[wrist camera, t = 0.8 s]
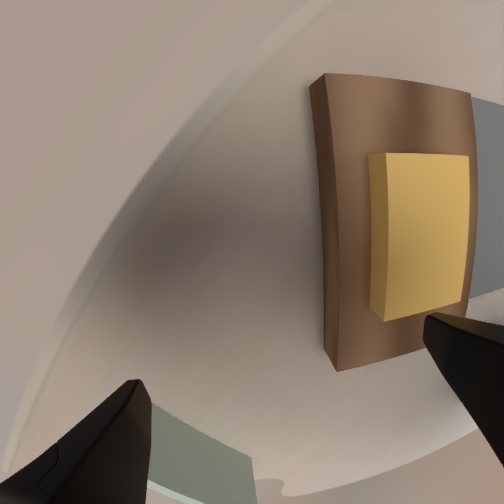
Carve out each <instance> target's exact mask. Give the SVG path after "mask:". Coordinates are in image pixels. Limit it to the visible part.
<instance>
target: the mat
mask: <svg viewBox="0 0 504 504" xmlns="http://www.w3.org/2000/svg"><path fill="white" fill-rule="evenodd" d="M471 101H472V108H473V115H474V124H475V134H476V146H477V164H478V216H477V234H476V246H475V257H474V265H473V273H472V280H471V287H470V293H469V299H470V298H473V297H476V296H479V295H482V294H485V293H488V292H491V291H494V290H497V289H500V288H503V287H504V106H503V105H499V104H496V103H492V102H489V101H485V100H481V99H477V98H474V97H471Z"/></svg>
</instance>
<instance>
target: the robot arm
mask: <svg viewBox="0 0 504 504" xmlns="http://www.w3.org/2000/svg"><path fill="white" fill-rule="evenodd" d="M423 342H424V344H425V346H426V348H427V349H428V351H429V353H430V354H431V356H432V358H433V360H434V361H435V363H436V365H437V366H438V368H439V370H440V372H441V373H442V375H443V377H444V378H445V380H446V381H447V382H448V384H449V385H450V387H451V388H452V389H453V391H454V392H455V394H456V395H457V396H458V398H459V399H460V401H461V402H462V404H463V405H464V406H465V408H466V409H467V411H468V412H469V414H470V415H471V417H472V418H473V420H474V421H475V423H476V424H477V426H478V427H479V429H480V430H481V432H482V433H483V435H484V436H485V438H486V440H487V441H488V443H489V444H490V446H491V447H492V449H493V451H494V452H495V454H496V456H497V457H498V459H499V461H500V462H501V464H502V465H503V467H504V326H501V325H496V324H492V323H487V322H482V321H477V320H473V319H468V318H463V317H458V316H454V315H449V314H445V313H440V312H434V313H431V314H428V315H426V317H425V319H424V328H423ZM151 431H152V403H151V399H150V397H149V395H148V392H147V390H146V388H145V386H144V384H143V382H142V381H141V380H140V379H133V380H127V381H126V382H125V383H124V384H123V385H122V386H120V387H119V388H118V389H117V390H116V391H115V392H114V393H112V394H111V395H110V396H109V397H108V398H107V399H106V400H104V401H103V402H102V403H101V404H100V405H99V406H98V407H96V408H95V409H94V410H93V411H92V412H91V413H89V414H88V415H87V416H86V417H85V418H84V419H83V420H81V421H80V422H79V423H78V424H77V425H76V426H74V427H73V428H72V429H71V430H70V431H69V432H67V433H66V434H65V435H64V436H63V437H62V438H60V439H59V440H58V441H57V443H54V444H53V445H52V446H51V447H50V448H49V449H48V450H46V451H45V452H44V453H43V454H41V455H40V456H39V457H38V458H36V459H35V460H34V461H32V462H31V463H29V464H28V465H27V466H25V467H24V468H22V469H21V470H19V471H18V472H17V473H15V474H14V475H12V476H11V477H9V478H8V479H6V480H5V481H3V482H2V483H0V504H145V500H146V490H147V481H148V472H149V463H150V454H151Z"/></svg>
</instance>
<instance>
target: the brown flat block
mask: <svg viewBox="0 0 504 504" xmlns="http://www.w3.org/2000/svg"><path fill="white" fill-rule="evenodd" d="M309 88H310V96H311V104H312V112H313V121H314V130H315V140H316V151H317V162H318V174H319V187H320V202H321V219H322V240H323V268H324V349H325V351H326V353H327V355H328V357H329V359H330V360H331V362H332V364H333V366H334V368H335V369H336V371H337V372H338V371H343V370H347V369H351V368H356V367H360V366H364V365H368V364H372V363H375V362H379V361H383V360H386V359H390V358H393V357H397V356H400V355H404V354H407V353H410V352H414V351H417V350H420V349H423V348H426V346H425V344H424V342H423V328H424V319H425V317H426V315H428V314H431V313H434V312H440V313H445V314H449V315H454V316H458V317H463V318H465V315H466V310H467V305H468V299H469V293H470V287H471V280H472V273H473V265H474V257H475V246H476V234H477V216H478V164H477V146H476V134H475V124H474V115H473V108H472V101H471V94H470V93H467V92H463V91H459V90H454V89H450V88H445V87H440V86H435V85H430V84H424V83H418V82H412V81H406V80H399V79H391V78H383V77H373V76H363V75H349V74H331V73H324V74H323V75H322V76H321V77H320V78H318V79H317V80H316V81H315V82H314V83H313V84H311V85H310V86H309ZM374 153H419V154H444V155H461V156H469V181H470V203H469V229H468V244H467V255H466V265H465V273H464V281H463V288H462V294H461V300H460V302H456V303H453V304H450V305H446V306H443V307H439V308H436V309H432V310H428V311H425V312H421V313H417V314H413V315H410V316H406V317H402V318H398V319H394V320H389V321H385V322H384V321H383V320H382V319H381V318H380V317H379V316H378V315H377V314H376V313H375V312H374V311H373V310H372V309H371V308H370V307H369V303H370V281H371V199H370V178H369V162H368V154H374Z"/></svg>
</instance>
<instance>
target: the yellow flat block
mask: <svg viewBox="0 0 504 504" xmlns="http://www.w3.org/2000/svg"><path fill="white" fill-rule="evenodd" d="M368 162H369V178H370V199H371V281H370V303H369V307H370V308H371V309H372V310H373V311H374V312H375V313H376V314H377V315H378V316H379V317H380V318H381V319H382V320H383V321H384V322H385V321H389V320H394V319H398V318H402V317H406V316H410V315H413V314H417V313H421V312H425V311H428V310H432V309H436V308H439V307H443V306H446V305H450V304H453V303H456V302H460V300H461V294H462V288H463V281H464V273H465V265H466V255H467V244H468V229H469V203H470V181H469V156H461V155H444V154H419V153H374V154H368Z"/></svg>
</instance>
